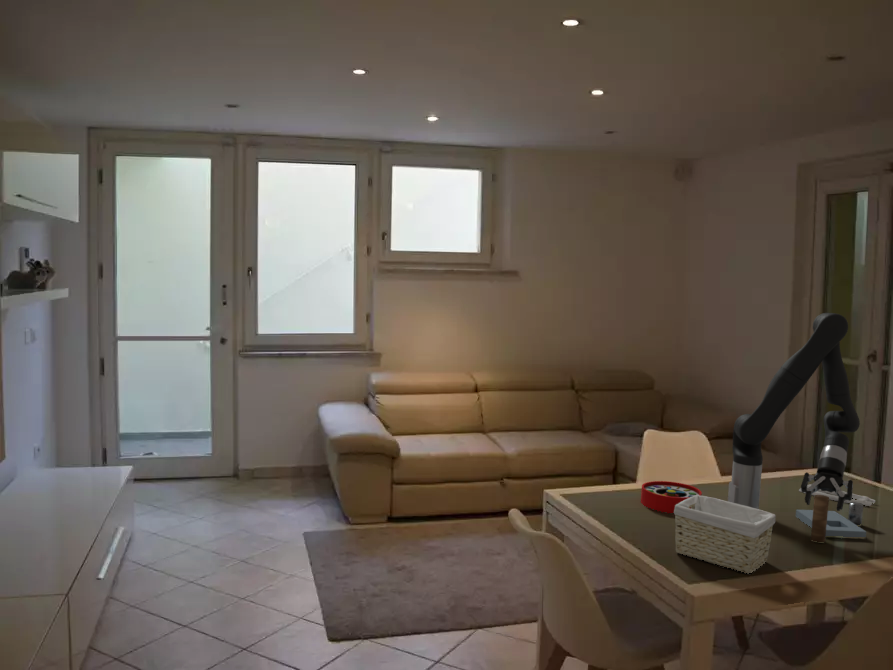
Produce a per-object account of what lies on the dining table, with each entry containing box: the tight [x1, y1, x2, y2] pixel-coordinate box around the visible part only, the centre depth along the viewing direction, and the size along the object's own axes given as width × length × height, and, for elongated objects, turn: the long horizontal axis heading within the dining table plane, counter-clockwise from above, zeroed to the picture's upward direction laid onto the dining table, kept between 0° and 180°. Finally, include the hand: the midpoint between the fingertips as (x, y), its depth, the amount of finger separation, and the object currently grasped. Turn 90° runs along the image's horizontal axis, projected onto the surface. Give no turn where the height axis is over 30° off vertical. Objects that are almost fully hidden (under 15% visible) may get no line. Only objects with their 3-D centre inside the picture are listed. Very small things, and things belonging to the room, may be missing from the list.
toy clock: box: [640, 480, 703, 514], centre depth 269 cm, size 20×6×20 cm
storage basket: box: [673, 495, 776, 575], centre depth 220 cm, size 24×16×15 cm
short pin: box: [847, 502, 864, 525], centre depth 256 cm, size 4×4×7 cm
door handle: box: [798, 483, 876, 507], centre depth 286 cm, size 3×10×25 cm
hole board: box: [795, 509, 867, 538], centre depth 252 cm, size 13×20×2 cm, turn 0°
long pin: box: [810, 495, 830, 543], centre depth 238 cm, size 4×4×14 cm
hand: (822, 506), depth 239 cm, fingers open, 8 cm apart
